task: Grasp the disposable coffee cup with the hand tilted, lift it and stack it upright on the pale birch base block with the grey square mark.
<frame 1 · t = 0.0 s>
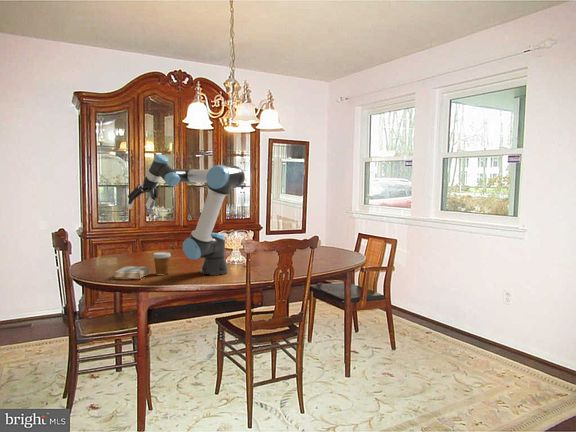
hand: (137, 207, 255), 36 cm above the table, tool tilted 35°, fingers open, 13 cm apart
birch base block: (132, 276, 233), on the table
disposable coffee cup: (162, 274, 239), on the table
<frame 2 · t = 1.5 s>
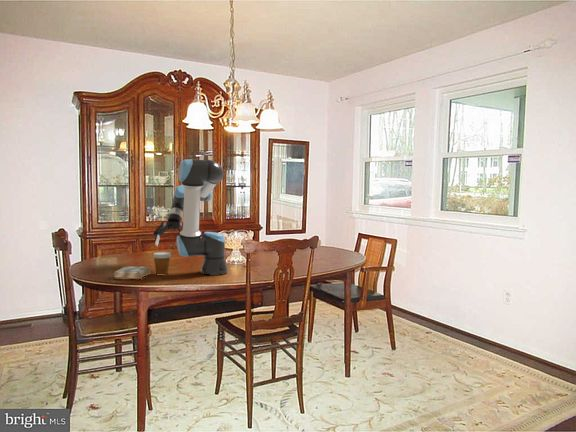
hand: (167, 245, 248), 15 cm above the table, tool tilted 45°, fingers open, 13 cm apart
nothing on the table moved.
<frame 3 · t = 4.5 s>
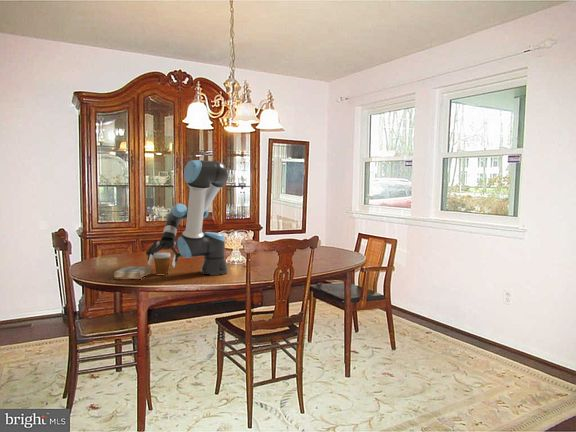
hand: (160, 265, 237), 5 cm above the table, tool tilted 45°, fingers open, 13 cm apart
nothing on the table moved.
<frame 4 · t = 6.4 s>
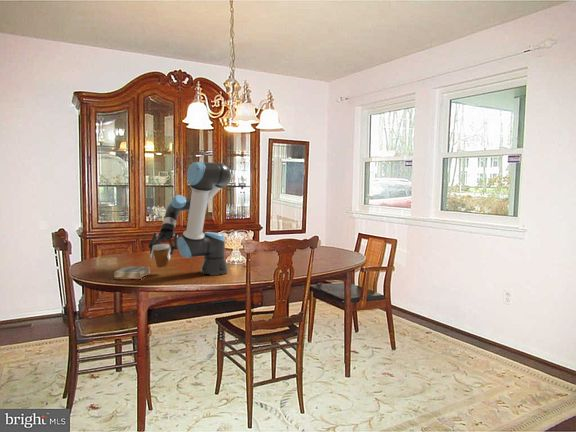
hand: (159, 258, 235), 9 cm above the table, tool tilted 45°, fingers closed on disposable coffee cup, 9 cm apart
disposable coffee cup: (163, 266, 238), point 5 cm above the table, touching gripper
when the fingers open (9 cm above the table, at t = 10.0 s): disposable coffee cup stays where it is, resting on birch base block.
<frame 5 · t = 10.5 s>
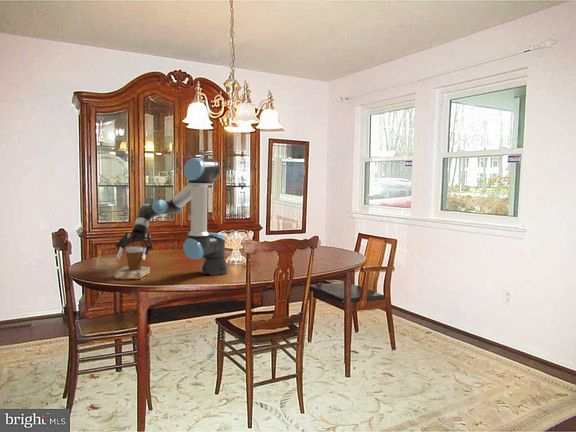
hand: (130, 258, 229), 10 cm above the table, tool tilted 45°, fingers open, 13 cm apart
disposable coffee cup: (135, 269, 232), point 4 cm above the table, touching birch base block
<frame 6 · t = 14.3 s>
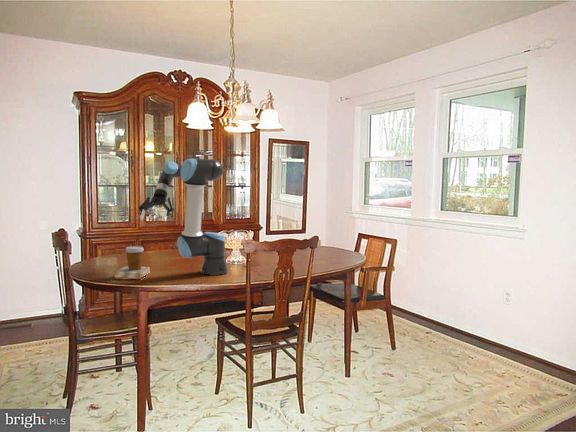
hand: (152, 219, 245), 30 cm above the table, tool tilted 45°, fingers open, 13 cm apart
nothing on the table moved.
at the end: disposable coffee cup inside the target area on the birch base block (1.6 cm from its centre), point 4.0 cm above the birch base block's base; disposable coffee cup tilted 0°; the gripper is holding nothing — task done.
